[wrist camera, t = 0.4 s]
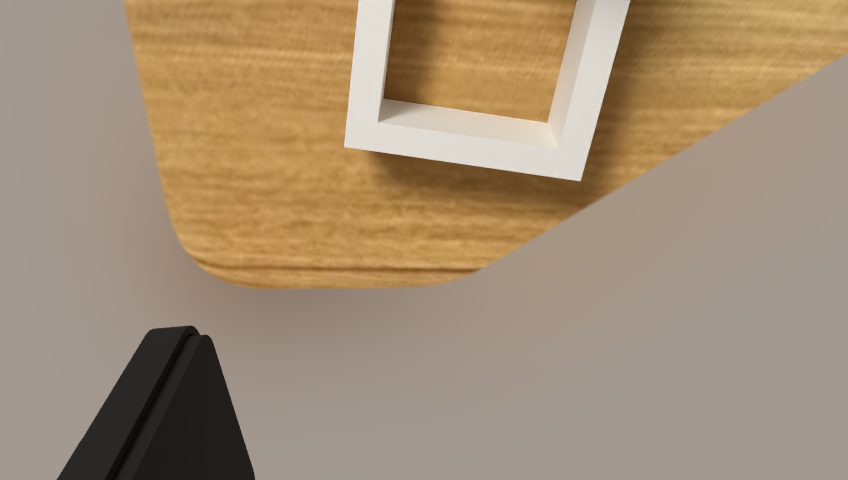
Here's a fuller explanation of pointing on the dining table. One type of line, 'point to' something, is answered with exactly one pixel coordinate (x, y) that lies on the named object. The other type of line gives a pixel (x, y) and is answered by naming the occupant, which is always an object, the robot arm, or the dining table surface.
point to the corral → (477, 132)
